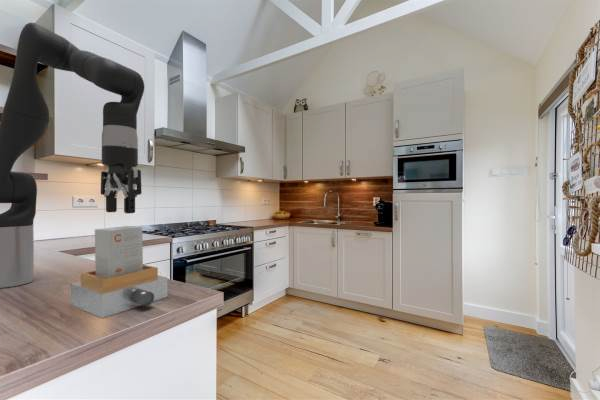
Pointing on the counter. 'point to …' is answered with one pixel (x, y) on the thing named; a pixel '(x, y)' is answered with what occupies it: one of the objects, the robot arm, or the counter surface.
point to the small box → (118, 251)
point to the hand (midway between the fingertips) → (120, 212)
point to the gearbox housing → (118, 291)
